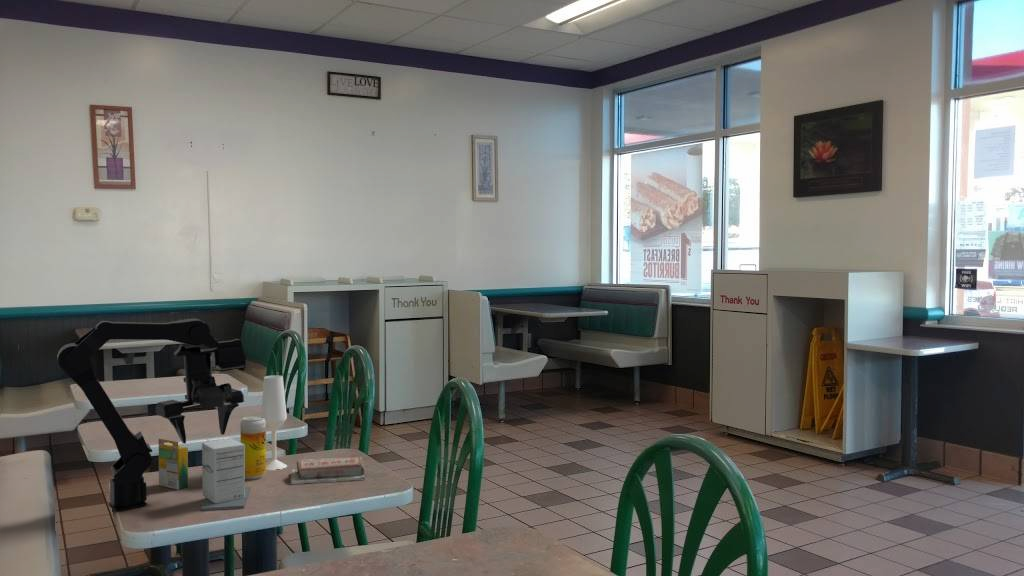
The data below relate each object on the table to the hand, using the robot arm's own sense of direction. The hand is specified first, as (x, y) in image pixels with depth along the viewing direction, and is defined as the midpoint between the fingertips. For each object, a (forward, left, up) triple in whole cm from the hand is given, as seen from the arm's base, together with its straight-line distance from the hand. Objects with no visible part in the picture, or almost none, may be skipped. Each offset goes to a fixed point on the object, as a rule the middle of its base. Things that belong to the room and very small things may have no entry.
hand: (203, 438), depth 185 cm
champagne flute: (+23, +11, -14) cm, 29 cm away
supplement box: (+2, -7, -13) cm, 15 cm away
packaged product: (+29, -6, -14) cm, 33 cm away
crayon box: (-3, +11, -14) cm, 18 cm away
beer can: (+15, +6, -14) cm, 21 cm away
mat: (+2, -7, -13) cm, 15 cm away
